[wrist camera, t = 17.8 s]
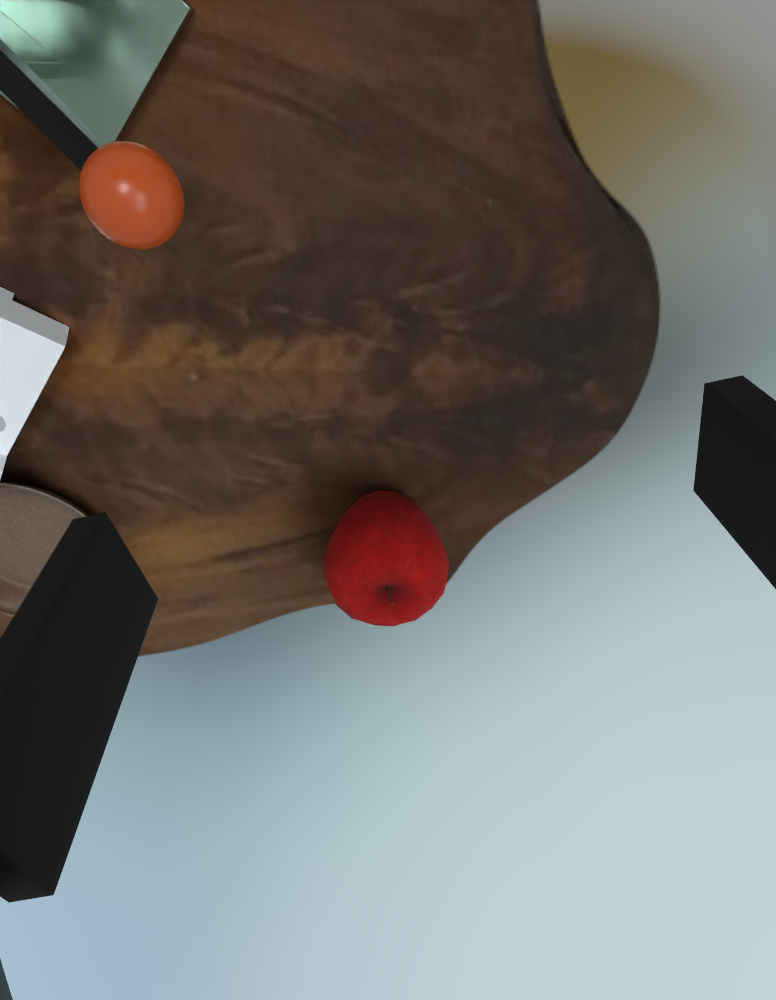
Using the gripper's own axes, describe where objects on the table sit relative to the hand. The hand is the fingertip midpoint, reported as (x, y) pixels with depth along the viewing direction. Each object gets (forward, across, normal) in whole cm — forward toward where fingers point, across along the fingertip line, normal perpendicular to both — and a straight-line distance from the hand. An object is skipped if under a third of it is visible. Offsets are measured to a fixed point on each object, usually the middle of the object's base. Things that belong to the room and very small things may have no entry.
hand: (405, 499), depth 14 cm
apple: (+31, -4, -23) cm, 39 cm away
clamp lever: (+18, -11, +9) cm, 23 cm away
